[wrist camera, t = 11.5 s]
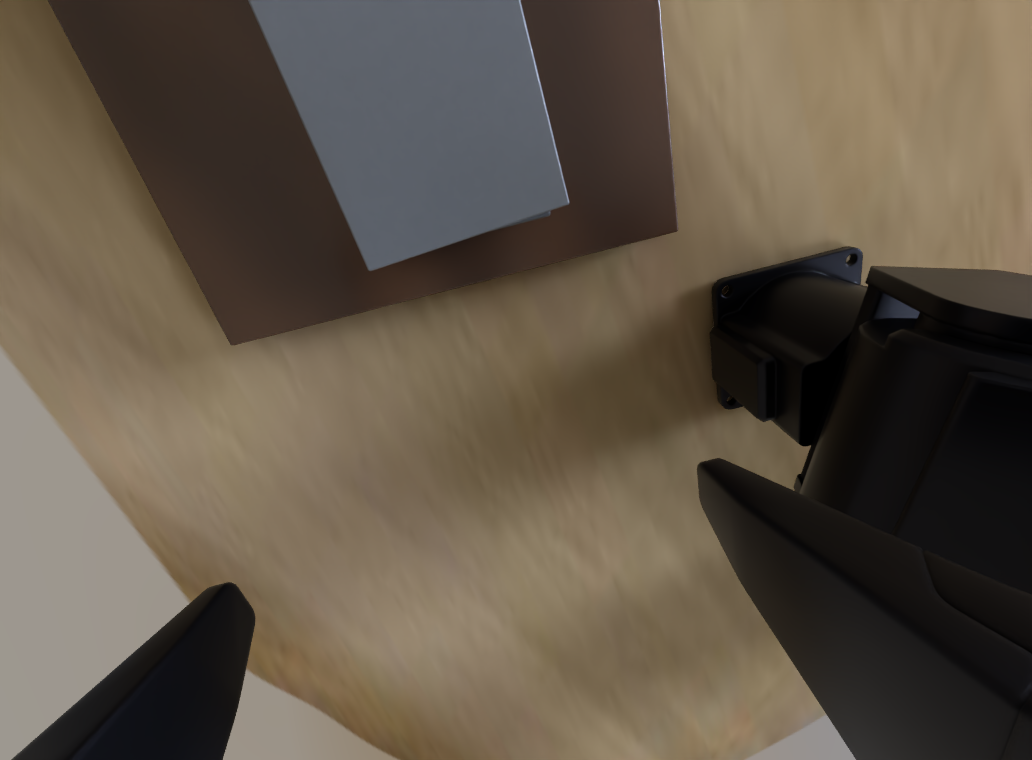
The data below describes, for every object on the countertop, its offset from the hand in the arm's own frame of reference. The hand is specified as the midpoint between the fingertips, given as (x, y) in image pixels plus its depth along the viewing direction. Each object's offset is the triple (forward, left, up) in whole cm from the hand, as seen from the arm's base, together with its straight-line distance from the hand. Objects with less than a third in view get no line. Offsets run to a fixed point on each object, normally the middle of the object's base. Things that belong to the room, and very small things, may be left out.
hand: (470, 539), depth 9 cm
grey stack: (-1, -9, -12) cm, 15 cm away
